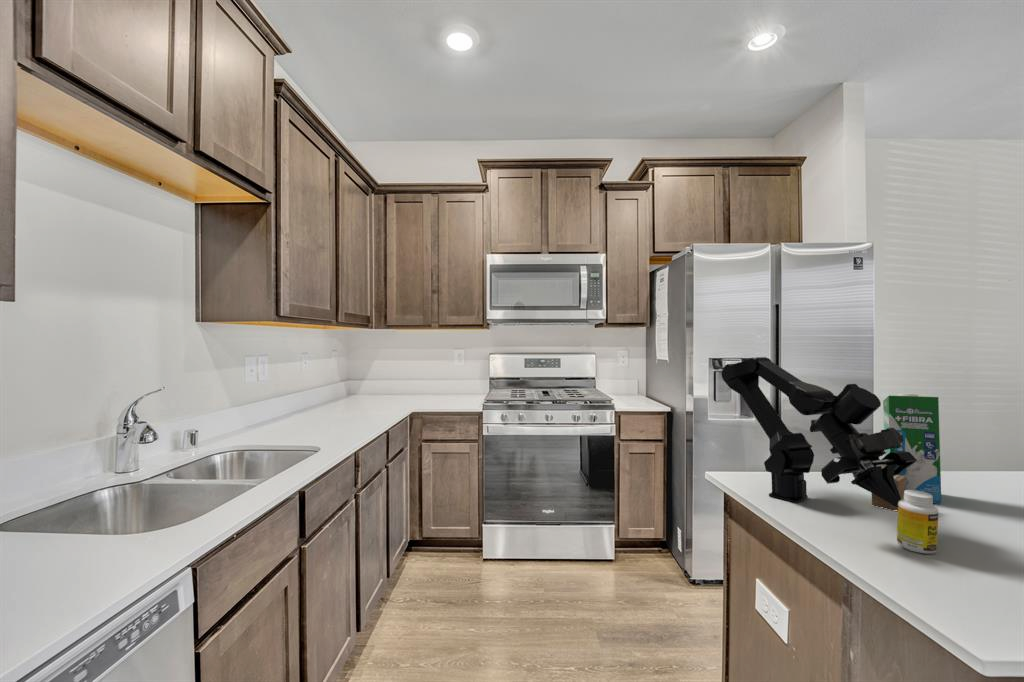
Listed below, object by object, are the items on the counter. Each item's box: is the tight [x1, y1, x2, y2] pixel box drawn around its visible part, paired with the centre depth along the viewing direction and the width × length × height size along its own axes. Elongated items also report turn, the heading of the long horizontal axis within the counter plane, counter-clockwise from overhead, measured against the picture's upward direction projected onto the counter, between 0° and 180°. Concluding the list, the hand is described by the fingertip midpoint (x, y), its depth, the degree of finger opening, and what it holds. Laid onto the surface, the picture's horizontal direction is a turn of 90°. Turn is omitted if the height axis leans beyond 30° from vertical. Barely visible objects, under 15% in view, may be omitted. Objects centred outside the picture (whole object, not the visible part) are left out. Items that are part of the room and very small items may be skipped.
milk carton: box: [882, 393, 942, 504], centre depth 112 cm, size 9×9×25 cm
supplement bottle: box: [896, 490, 939, 555], centre depth 84 cm, size 6×6×10 cm
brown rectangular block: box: [871, 475, 906, 512], centre depth 105 cm, size 5×5×7 cm
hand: (900, 506), depth 87 cm, fingers closed, pressing on supplement bottle
